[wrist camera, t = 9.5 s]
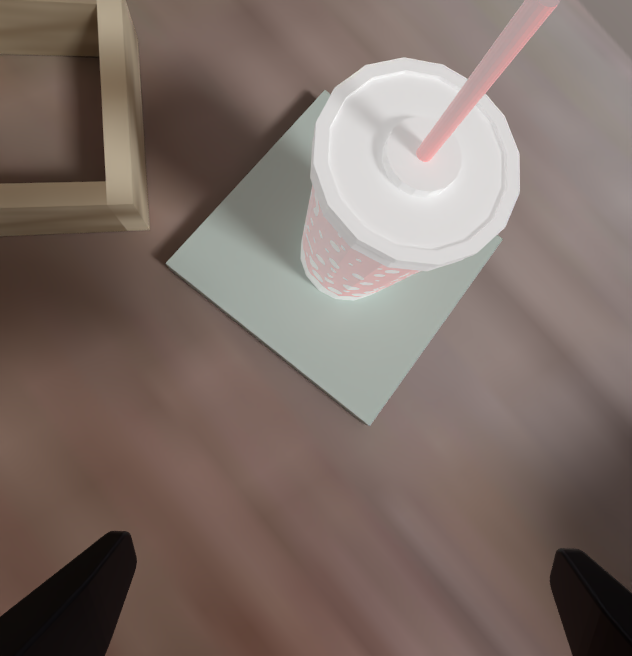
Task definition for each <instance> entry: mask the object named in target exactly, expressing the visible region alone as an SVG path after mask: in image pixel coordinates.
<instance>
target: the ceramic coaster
mask: <svg viewBox="0 0 632 656" xmlns="http://www.w3.org/2000/svg"><path fill="white" fill-rule="evenodd" d="M329 97H330V94H329V93H328V92H327V91H326V90H324V91H323V93H322V94H321V95H320V96H319V97H318V98H317V99H316V100H315V101H314V102H313V103H312V105H311V106H310V107H309V108H308V109H307V110H306V111H305V112H304V113H303V114H302V115H301V116H300V118H299V119H298V120H297V121H296V122H295V123H294V124H293V125H292V126H291V127H290V128H289V130H288V131H287V132H286V133H285V134H284V135H283V136H282V137H281V138H280V139H279V140H278V142H277V143H276V144H275V145H274V146H273V147H272V148H271V149H270V150H269V151H268V152H267V153H266V155H265V156H264V157H263V158H262V159H261V160H260V161H259V162H258V163H257V164H256V165H255V167H254V168H253V169H252V170H251V171H250V172H249V173H248V174H247V175H246V176H245V177H244V178H243V180H242V181H241V182H240V183H239V184H238V185H237V186H236V187H235V188H234V189H233V190H232V192H231V193H230V194H229V195H228V196H227V197H226V198H225V199H224V200H223V201H222V202H221V204H220V205H219V206H218V207H217V208H216V209H215V210H214V211H213V212H212V213H211V214H210V215H209V217H208V218H207V219H206V220H205V221H204V222H203V223H202V224H201V225H200V226H199V227H198V229H197V230H196V231H195V232H194V233H193V234H192V235H191V236H190V237H189V238H188V239H187V241H186V242H185V243H184V244H183V245H182V246H181V247H180V248H179V249H178V250H177V251H176V252H175V254H174V255H173V256H172V257H171V258H170V259H169V260H168V261H167V262H166V265H167V266H168V268H169V269H170V270H171V271H172V272H174V273H175V274H176V275H177V276H179V277H180V278H181V279H182V280H184V281H185V282H186V283H187V284H189V285H190V286H191V287H192V288H194V289H195V290H196V291H198V292H199V293H200V294H201V295H203V296H204V297H205V298H206V299H208V300H209V301H210V302H211V303H213V304H214V305H215V306H216V307H218V308H219V309H220V310H221V311H223V312H224V313H225V314H226V315H228V316H229V317H230V318H231V319H233V320H234V321H235V322H236V323H238V324H239V325H240V326H241V327H243V328H244V329H245V330H246V331H248V332H249V333H250V334H251V335H253V336H254V337H255V338H257V339H258V340H259V341H260V342H262V343H263V344H264V345H265V346H267V347H268V348H269V349H270V350H272V351H273V352H274V353H275V354H277V355H278V356H279V357H280V358H282V359H283V360H284V361H285V362H287V363H288V364H289V365H290V366H292V367H293V368H294V369H295V370H297V371H298V372H299V373H300V374H302V375H303V376H304V377H305V378H307V379H308V380H309V381H310V382H312V383H313V384H314V385H316V386H317V387H318V388H319V389H321V390H322V391H323V392H324V393H326V394H327V395H328V396H329V397H331V398H332V399H333V400H334V401H336V402H337V403H338V404H339V405H341V406H342V407H343V408H344V409H346V410H347V411H348V412H349V413H351V414H352V415H353V416H354V417H356V418H357V419H358V420H359V421H361V422H362V423H363V424H365V425H368V426H370V425H371V424H372V422H373V421H374V419H375V418H376V417H377V415H378V414H379V412H380V411H381V410H382V408H383V407H384V405H385V404H386V403H387V401H388V400H389V398H390V397H391V396H392V394H393V393H394V391H395V390H396V389H397V387H398V386H399V384H400V383H401V382H402V380H403V379H404V377H405V376H406V375H407V373H408V372H409V370H410V369H411V367H412V366H413V365H414V363H415V362H416V360H417V359H418V358H419V356H420V355H421V353H422V352H423V351H424V349H425V348H426V346H427V345H428V344H429V342H430V341H431V339H432V338H433V337H434V335H435V334H436V332H437V331H438V330H439V328H440V327H441V325H442V324H443V323H444V321H445V320H446V318H447V317H448V316H449V314H450V313H451V311H452V310H453V309H454V307H455V306H456V304H457V303H458V302H459V300H460V299H461V297H462V296H463V295H464V293H465V292H466V290H467V289H468V288H469V286H470V285H471V283H472V282H473V280H474V279H475V278H476V276H477V275H478V273H479V272H480V271H481V269H482V268H483V266H484V265H485V264H486V262H487V261H488V259H489V258H490V257H491V255H492V254H493V252H494V251H495V250H496V248H497V247H498V245H499V244H500V243H501V241H502V240H503V239H502V238H501V237H499V236H498V235H496V236H495V237H494V238H493V239H492V240H491V241H490V242H489V243H487V244H486V245H485V246H484V247H483V248H482V249H481V250H480V251H479V252H478V253H476V254H474V255H473V256H470V257H467V258H464V259H463V260H461V261H458V262H455V263H452V264H449V265H445V266H442V267H439V268H436V269H433V270H430V271H420V272H418V273H416V274H414V275H411V276H409V277H407V278H405V279H403V280H401V281H399V282H397V283H395V284H393V285H391V286H389V287H386V288H384V289H382V290H380V291H378V292H376V293H374V294H372V295H369V296H366V297H363V298H360V299H357V300H354V301H353V300H342V299H335V298H333V297H331V296H329V295H327V294H325V293H323V292H321V291H319V290H318V289H317V288H316V286H315V285H314V284H313V283H312V282H311V281H310V280H309V278H308V277H307V276H306V273H305V270H304V267H303V264H302V261H301V259H300V258H301V243H302V236H303V231H304V226H305V221H306V215H307V210H308V205H309V200H310V195H311V189H312V181H311V179H310V172H311V157H312V141H313V137H314V128H315V124H316V121H317V119H318V117H319V116H320V114H321V112H322V110H323V108H324V106H325V105H326V103H327V101H328V99H329Z"/></svg>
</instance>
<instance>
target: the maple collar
mask: <svg viewBox="0 0 632 656" xmlns="http://www.w3.org/2000/svg"><path fill="white" fill-rule="evenodd" d="M0 54H16V55H54V56H92V57H100V76H101V96H102V115H103V135H104V154H105V174H106V181H100V182H54V183H8V184H0V236H19V235H43V234H68V233H92V232H116V231H140V230H150V224H149V208H148V192H147V176H146V160H145V144H144V128H143V112H142V96H141V80H140V64H139V48H138V38H137V35H136V32H135V29H134V26H133V22H132V19H131V16H130V13H129V10H128V7H127V4H126V0H0Z"/></svg>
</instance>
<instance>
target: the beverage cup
mask: <svg viewBox="0 0 632 656" xmlns="http://www.w3.org/2000/svg"><path fill="white" fill-rule="evenodd" d="M559 2H560V0H525V1H524V2H523V4H522V5H521V6H520V8H519V9H518V11H517V12H516V13H515V15H514V16H513V18H512V19H511V20H510V22H509V23H508V24H507V26H506V27H505V29H504V30H503V31H502V33H501V34H500V35H499V37H498V38H497V40H496V41H495V42H494V44H493V45H492V47H491V48H490V49H489V51H488V52H487V53H486V55H485V56H484V58H483V59H482V60H481V62H480V63H479V64H478V66H477V67H476V69H475V70H474V71H473V73H472V74H471V76H470V77H469V78H468V79H467V78H465V77H463V76H462V75H460V74H458V73H456V72H455V71H453V70H451V69H450V68H448V67H446V66H445V65H442V64H437V63H431V62H426V61H420V60H415V59H410V58H399V59H394V60H389V61H384V62H379V63H374V64H369V65H365V66H364V67H363V68H361V69H360V70H358V71H357V72H356V73H354V74H353V75H351V76H350V77H349V78H347V79H346V80H345V81H343V82H342V83H340V84H339V85H338V86H336V87H335V88H334V90H333V92H332V94H331V95H330V97H329V99H328V101H327V103H326V105H325V106H324V108H323V110H322V112H321V114H320V116H319V117H318V119H317V121H316V124H315V128H314V137H313V141H312V157H311V172H310V179H311V181H312V189H311V195H310V200H309V205H308V210H307V215H306V221H305V226H304V231H303V236H302V243H301V258H300V259H301V261H302V264H303V267H304V270H305V273H306V276H307V277H308V278H309V280H310V281H311V282H312V283H313V284H314V285H315V286H316V288H317V289H318V290H319V291H321V292H323V293H325V294H327V295H329V296H331V297H333V298H335V299H342V300H353V301H354V300H357V299H360V298H363V297H366V296H369V295H372V294H374V293H376V292H378V291H380V290H382V289H384V288H386V287H389V286H391V285H393V284H395V283H397V282H399V281H401V280H403V279H405V278H407V277H409V276H411V275H414V274H416V273H418V272H420V271H430V270H433V269H436V268H439V267H442V266H445V265H449V264H452V263H455V262H458V261H461V260H463V259H464V258H467V257H470V256H473V255H474V254H476V253H478V252H479V251H480V250H481V249H482V248H483V247H484V246H485V245H486V244H487V243H489V242H490V241H491V240H492V239H493V238H494V237H495V236H496V235H497V234H498V233H499V232H501V231H502V230H503V229H504V228H505V226H506V224H507V222H508V219H509V217H510V214H511V212H512V210H513V207H514V205H515V202H516V200H517V198H518V195H519V193H520V168H519V151H518V149H517V146H516V144H515V141H514V138H513V136H512V133H511V131H510V128H509V126H508V123H507V121H506V118H505V116H504V115H503V114H502V112H501V111H500V110H499V109H498V108H497V107H496V105H495V104H494V103H493V102H492V101H491V100H490V98H489V97H488V96H487V95H486V94H485V93H486V92H487V91H488V89H489V88H490V87H491V86H492V85H493V83H494V82H495V81H496V80H497V78H498V77H499V76H500V75H501V74H502V72H503V71H504V70H505V69H506V67H507V66H508V65H509V64H510V63H511V61H512V60H513V59H514V58H515V56H516V55H517V54H518V53H519V52H520V50H521V49H522V48H523V47H524V46H525V44H526V43H527V42H528V41H529V39H530V38H531V37H532V36H533V35H534V33H535V32H536V31H537V30H538V28H539V27H540V26H541V25H542V24H543V22H544V21H545V20H546V19H547V17H548V16H549V15H550V14H551V13H552V11H553V10H554V9H555V8H556V6H557V5H558V4H559Z"/></svg>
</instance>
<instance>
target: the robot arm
mask: <svg viewBox="0 0 632 656" xmlns="http://www.w3.org/2000/svg"><path fill="white" fill-rule="evenodd" d="M136 564H137V558H136V553H135V549H134V546H133V542H132V538H131V535H130V533H129V532H126V531H110V532H108V533H107V534H105V535H104V536H103V537H101V538H100V539H99V540H98V541H96V542H95V543H94V544H92V545H91V546H90V547H89V548H87V549H86V550H85V551H83V552H82V553H81V554H80V555H78V556H77V557H76V558H75V559H73V560H72V561H71V562H69V563H68V564H67V565H66V566H64V567H63V568H62V569H60V570H59V571H58V572H57V573H55V574H54V575H53V576H52V577H50V578H49V579H48V580H46V581H45V582H44V583H43V584H41V585H40V586H39V587H38V588H36V589H35V590H34V591H32V592H31V593H30V594H29V595H27V596H26V597H25V598H23V599H22V600H21V601H20V602H18V603H17V604H16V605H15V606H13V607H12V608H11V609H9V610H8V611H7V612H6V613H4V614H3V615H2V616H0V656H105V654H106V651H107V649H108V647H109V644H110V641H111V639H112V636H113V633H114V630H115V627H116V624H117V622H118V619H119V616H120V613H121V610H122V607H123V604H124V601H125V599H126V596H127V593H128V590H129V587H130V584H131V581H132V578H133V575H134V573H135V569H136ZM550 585H551V590H552V593H553V596H554V599H555V602H556V605H557V609H558V612H559V615H560V618H561V621H562V624H563V627H564V630H565V634H566V637H567V640H568V643H569V646H570V649H571V652H572V655H573V656H632V593H631V592H630V591H629V590H628V589H626V588H625V587H624V586H623V585H622V584H620V583H619V582H618V581H617V580H616V579H615V578H613V577H612V576H611V575H610V574H609V573H608V572H606V571H605V570H604V569H603V568H602V567H601V566H599V565H598V564H597V563H596V562H595V561H594V560H592V559H591V558H590V557H589V556H588V555H586V554H585V553H584V552H583V551H581V550H579V549H567V548H560V549H558V550H557V551H556V554H555V558H554V562H553V566H552V570H551V574H550Z"/></svg>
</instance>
